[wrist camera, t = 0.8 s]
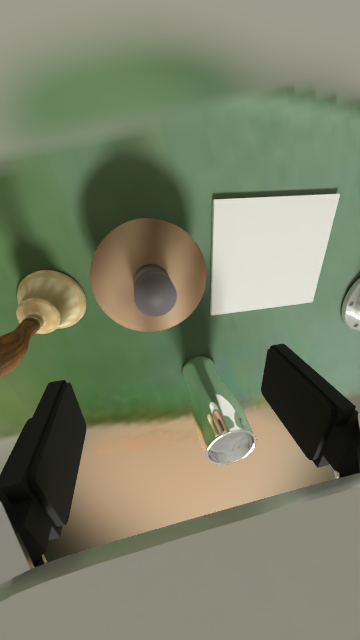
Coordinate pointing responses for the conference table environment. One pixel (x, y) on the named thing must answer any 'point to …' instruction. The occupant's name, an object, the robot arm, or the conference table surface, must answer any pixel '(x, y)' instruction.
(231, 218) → the mat
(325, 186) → the conference table surface
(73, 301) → the hand bell
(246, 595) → the robot arm
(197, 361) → the beer glass
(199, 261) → the lid
